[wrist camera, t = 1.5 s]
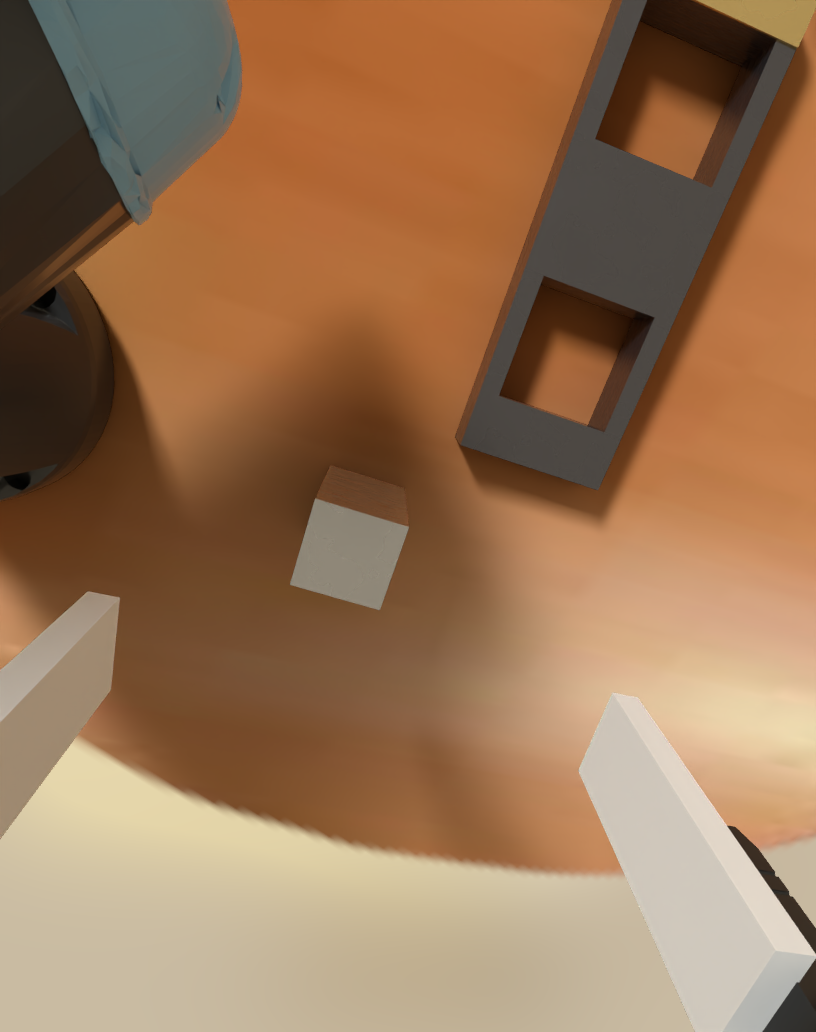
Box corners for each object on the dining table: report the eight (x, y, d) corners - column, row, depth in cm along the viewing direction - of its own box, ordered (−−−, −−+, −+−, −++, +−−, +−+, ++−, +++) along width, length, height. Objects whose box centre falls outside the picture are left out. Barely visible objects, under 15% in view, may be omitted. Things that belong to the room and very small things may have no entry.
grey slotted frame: (454, 437, 31) (460, 445, 29) (637, -72, 25) (665, -118, 22) (582, 479, 32) (598, 490, 30) (791, 1, 26) (835, -35, 23)
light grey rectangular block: (309, 535, 33) (289, 584, 26) (330, 464, 32) (315, 498, 25) (381, 556, 33) (379, 610, 27) (405, 488, 32) (409, 527, 26)
